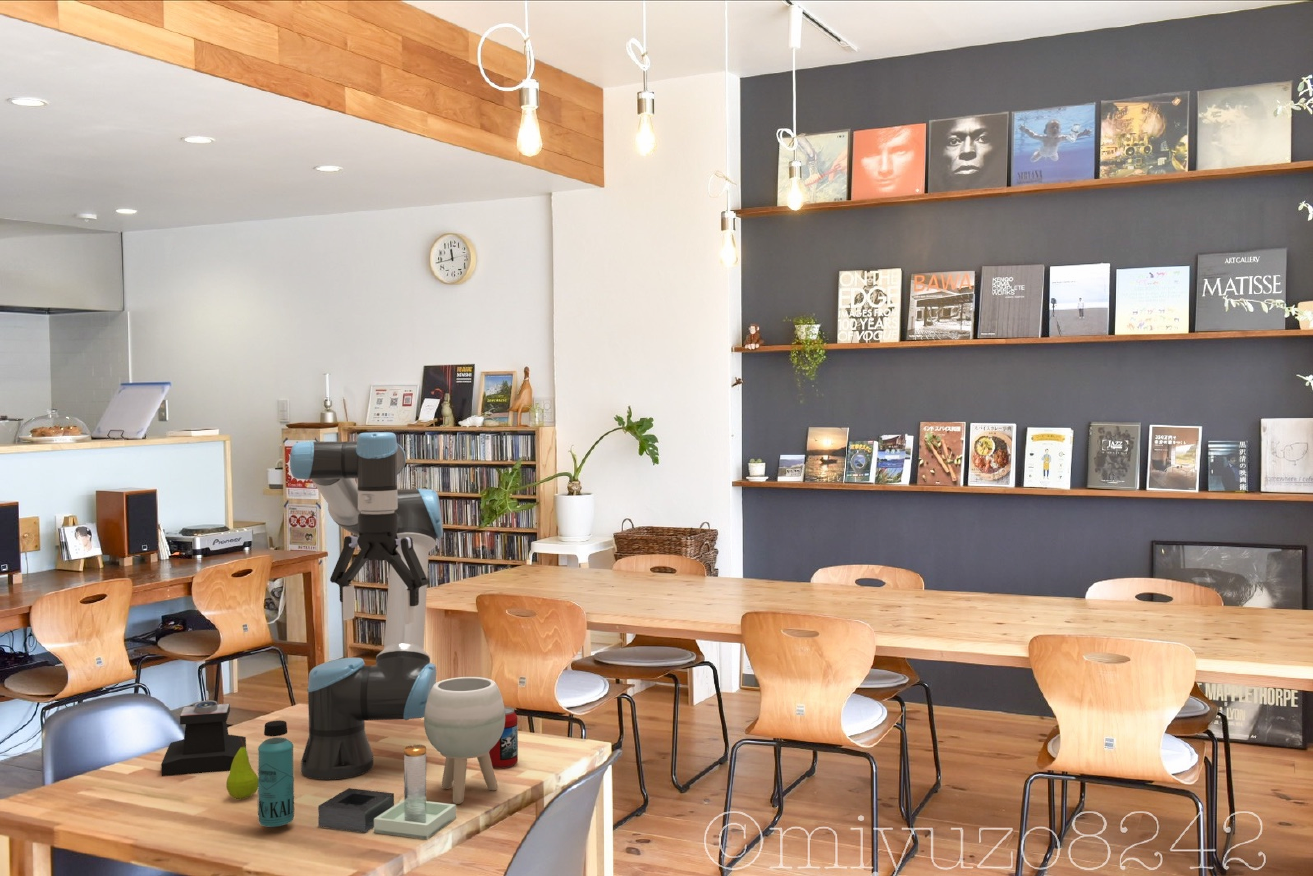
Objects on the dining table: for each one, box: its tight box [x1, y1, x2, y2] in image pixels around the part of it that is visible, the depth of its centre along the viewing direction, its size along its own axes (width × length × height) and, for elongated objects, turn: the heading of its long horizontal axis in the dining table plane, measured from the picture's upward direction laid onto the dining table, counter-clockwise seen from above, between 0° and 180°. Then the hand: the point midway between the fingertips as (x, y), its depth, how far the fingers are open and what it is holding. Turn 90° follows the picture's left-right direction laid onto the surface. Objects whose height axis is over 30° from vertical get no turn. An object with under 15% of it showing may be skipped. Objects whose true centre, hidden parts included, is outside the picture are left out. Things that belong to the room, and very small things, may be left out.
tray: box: [373, 799, 457, 841], centre depth 209 cm, size 11×11×3 cm
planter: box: [423, 676, 505, 805], centre depth 225 cm, size 16×16×22 cm
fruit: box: [226, 738, 258, 801], centre depth 224 cm, size 6×6×12 cm
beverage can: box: [489, 706, 519, 769], centre depth 244 cm, size 7×7×12 cm
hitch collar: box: [318, 787, 395, 834], centre depth 211 cm, size 10×10×4 cm
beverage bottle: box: [257, 719, 296, 828], centre depth 207 cm, size 6×7×20 cm
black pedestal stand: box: [160, 699, 247, 777], centre depth 246 cm, size 16×14×15 cm
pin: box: [403, 744, 427, 823], centre depth 208 cm, size 4×4×14 cm
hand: (379, 621), depth 217 cm, fingers open, 13 cm apart
